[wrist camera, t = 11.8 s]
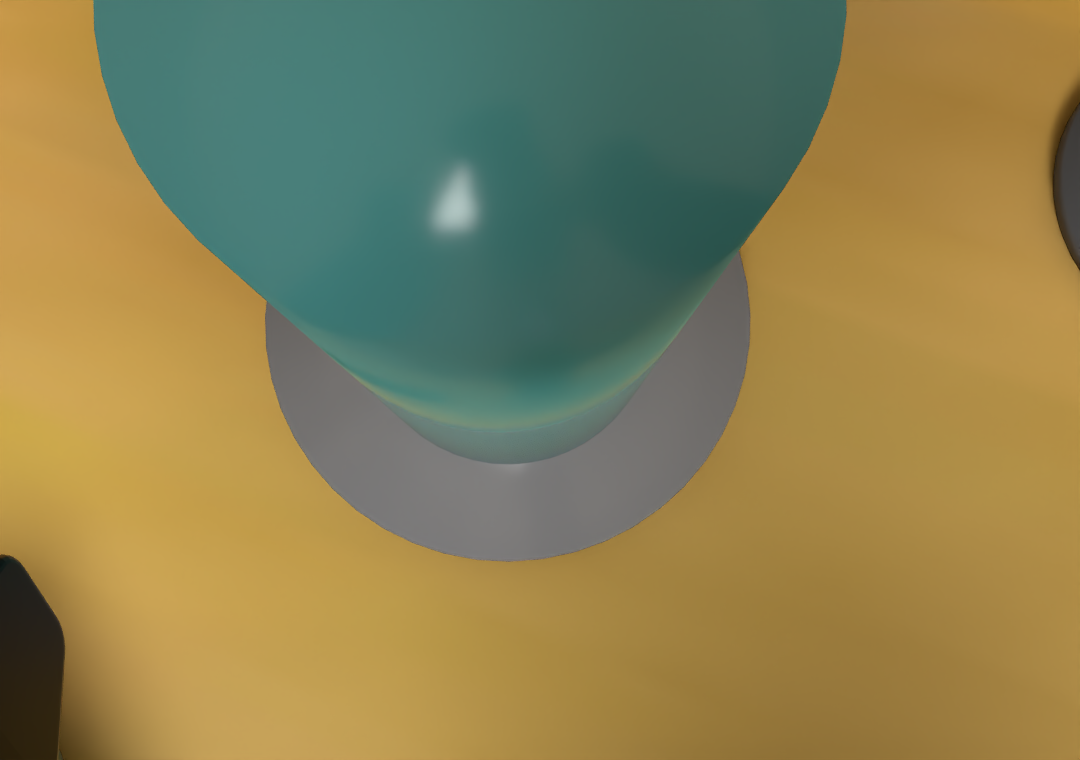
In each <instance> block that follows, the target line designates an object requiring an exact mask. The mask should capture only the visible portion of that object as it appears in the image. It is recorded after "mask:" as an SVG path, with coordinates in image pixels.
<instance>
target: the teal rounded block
mask: <svg viewBox="0 0 1080 760" xmlns="http://www.w3.org/2000/svg"><path fill="white" fill-rule="evenodd" d="M93 1H94V31H95V37H96V43H97V49H98V54H99V60H100V66H101V72H102V77H103V80H104V83H105V86H106V89H107V92H108V95H109V99H110V102H111V105H112V108H113V111H114V114H115V117H116V120H117V122H118V124H119V126H120V128H121V131H122V133H123V135H124V137H125V139H126V141H127V143H128V145H129V147H130V149H131V151H132V153H133V155H134V157H135V159H136V161H137V163H138V165H139V166H140V168H141V169H142V171H143V172H144V174H145V175H146V177H147V178H148V180H149V181H150V183H151V184H152V185H153V187H154V188H155V190H156V191H157V193H158V194H159V196H160V197H161V199H162V200H163V202H164V203H165V204H166V205H167V207H168V208H169V209H170V210H171V211H172V212H173V213H174V214H175V215H176V217H177V218H178V219H179V220H180V221H181V222H182V223H183V224H184V225H185V227H186V228H187V229H188V230H189V231H190V232H191V233H192V234H193V235H194V236H195V238H196V239H197V240H198V241H199V242H201V243H202V244H203V245H204V246H205V247H206V248H207V249H209V250H210V251H211V252H212V253H213V254H214V255H215V256H216V257H218V258H219V259H220V260H221V261H222V262H223V263H224V264H226V265H227V266H228V267H229V268H230V269H231V270H232V271H233V272H235V273H236V274H237V275H238V276H239V277H240V278H241V279H243V280H244V281H245V282H246V283H247V284H248V285H249V286H250V287H252V288H253V289H254V290H255V291H256V292H257V293H258V294H260V295H261V296H262V297H263V298H264V299H265V300H266V301H268V302H269V303H270V304H271V305H272V306H273V307H274V308H275V309H277V310H278V311H279V312H280V313H281V314H282V315H283V316H285V317H286V318H287V319H288V320H289V321H290V322H291V323H292V324H294V325H295V326H296V327H297V328H298V329H299V330H300V331H302V332H303V333H304V334H305V335H306V336H307V337H308V338H309V339H311V340H312V341H313V342H314V343H315V344H316V345H317V346H319V347H320V348H321V349H322V350H323V351H324V352H325V353H327V354H328V355H329V356H330V357H331V358H332V359H333V360H334V361H336V362H337V363H338V364H339V365H340V366H341V367H342V368H344V369H345V370H346V371H347V372H348V373H349V374H350V375H351V376H353V377H354V378H355V379H356V380H357V381H358V382H359V383H361V384H362V385H363V386H364V387H365V388H366V389H367V390H368V391H370V392H371V393H372V394H373V395H374V396H375V397H376V398H378V399H379V400H380V401H381V402H382V403H383V404H384V405H385V406H387V407H388V408H389V409H390V410H391V411H392V412H393V413H395V414H396V415H397V416H398V417H399V418H400V419H401V420H403V421H404V422H405V423H406V424H407V425H408V426H409V427H411V428H412V429H413V430H414V431H415V432H417V433H418V434H419V435H420V436H421V437H423V438H425V439H426V440H428V441H429V442H431V443H432V444H434V445H436V446H437V447H439V448H442V449H444V450H446V451H448V452H450V453H452V454H454V455H458V456H461V457H464V458H467V459H470V460H474V461H480V462H485V463H491V464H523V463H532V462H537V461H541V460H545V459H550V458H553V457H555V456H558V455H561V454H564V453H566V452H569V451H571V450H573V449H574V448H576V447H578V446H580V445H582V444H584V443H586V442H587V441H589V440H590V439H591V438H593V437H594V436H596V435H597V434H599V433H600V432H601V431H602V430H603V429H605V428H606V427H607V426H608V425H609V424H610V423H611V422H612V421H613V420H614V419H615V418H616V417H617V416H618V415H619V413H620V412H621V411H622V410H623V409H624V407H625V406H626V405H627V404H628V402H629V401H630V400H631V398H632V397H633V395H634V394H635V393H636V391H637V390H638V389H639V387H640V386H641V384H642V383H643V382H644V380H645V379H646V378H647V376H648V375H649V373H650V372H651V371H652V369H653V368H654V366H655V365H656V364H657V362H658V361H659V360H660V358H661V357H662V355H663V354H664V353H665V351H666V350H667V349H668V347H669V346H670V344H671V343H672V342H673V340H674V339H675V338H676V336H677V335H678V333H679V332H680V331H681V329H682V328H683V327H684V325H685V324H686V322H687V321H688V320H689V318H690V317H691V316H692V314H693V313H694V311H695V310H696V309H697V307H698V306H699V305H700V303H701V302H702V300H703V299H704V298H705V296H706V295H707V294H708V292H709V291H710V289H711V288H712V287H713V285H714V284H715V282H716V281H717V280H718V278H719V277H720V276H721V274H722V273H723V271H724V270H725V269H726V267H727V266H728V265H729V263H730V262H731V260H732V259H733V258H734V256H735V255H736V254H737V252H738V251H739V249H740V248H741V247H742V245H743V244H744V243H745V241H746V240H747V238H748V237H749V236H750V234H751V233H752V232H753V230H754V229H755V227H756V226H757V225H758V223H759V222H760V221H761V219H762V218H763V216H764V215H765V214H766V212H767V211H768V210H769V208H770V207H771V205H772V204H773V203H774V201H775V200H776V198H777V197H778V196H779V194H780V193H781V192H782V190H783V189H784V187H785V186H786V184H787V182H788V181H789V179H790V177H791V176H792V174H793V173H794V171H795V169H796V168H797V166H798V165H799V163H800V161H801V160H802V158H803V156H804V155H805V153H806V152H807V150H808V148H809V146H810V144H811V142H812V139H813V137H814V135H815V132H816V130H817V128H818V126H819V123H820V121H821V119H822V117H823V114H824V112H825V110H826V108H827V105H828V102H829V98H830V95H831V91H832V88H833V84H834V81H835V77H836V73H837V70H838V66H839V63H840V58H841V51H842V43H843V36H844V29H845V21H846V0H93Z"/></svg>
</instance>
